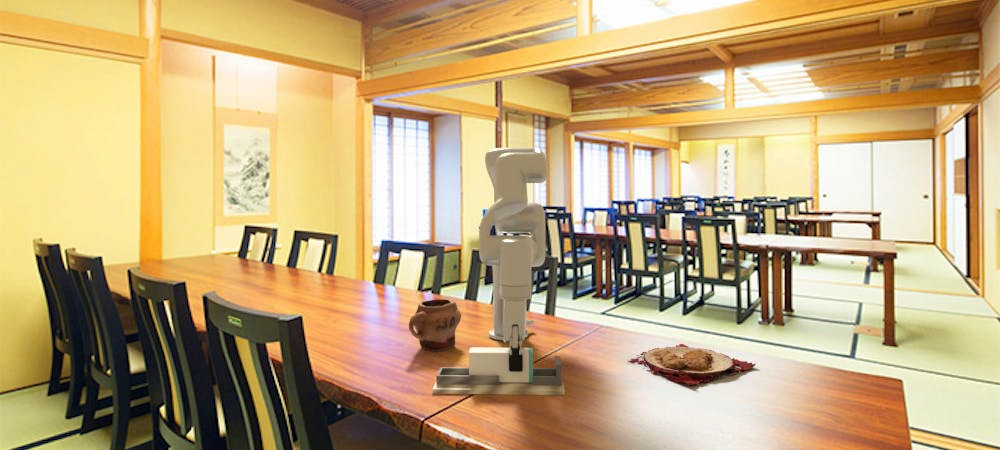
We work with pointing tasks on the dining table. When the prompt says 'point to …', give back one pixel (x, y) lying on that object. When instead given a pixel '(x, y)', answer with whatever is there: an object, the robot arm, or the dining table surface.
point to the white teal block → (500, 364)
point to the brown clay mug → (435, 324)
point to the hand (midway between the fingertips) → (516, 366)
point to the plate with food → (690, 363)
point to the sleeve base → (486, 384)
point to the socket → (548, 375)
